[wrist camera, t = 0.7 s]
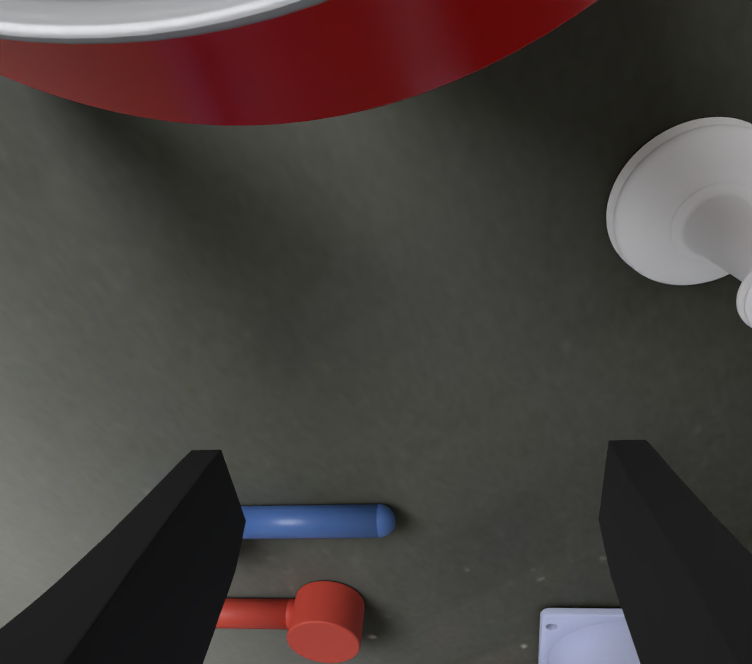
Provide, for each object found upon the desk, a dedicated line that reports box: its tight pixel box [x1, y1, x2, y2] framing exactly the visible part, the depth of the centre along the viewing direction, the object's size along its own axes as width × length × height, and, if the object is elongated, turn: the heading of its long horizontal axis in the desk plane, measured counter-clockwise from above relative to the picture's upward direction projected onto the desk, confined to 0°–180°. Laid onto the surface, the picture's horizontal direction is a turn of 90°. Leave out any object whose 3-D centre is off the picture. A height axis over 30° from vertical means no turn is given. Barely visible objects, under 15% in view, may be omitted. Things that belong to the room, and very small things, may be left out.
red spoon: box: [216, 581, 365, 663], centre depth 29 cm, size 12×4×2 cm, turn 97°
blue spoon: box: [241, 504, 395, 539], centre depth 25 cm, size 12×4×2 cm, turn 97°
